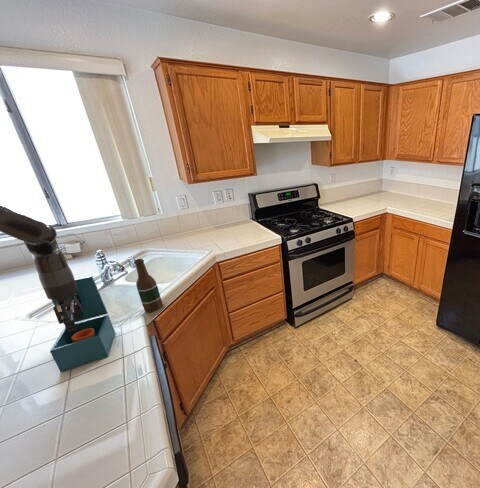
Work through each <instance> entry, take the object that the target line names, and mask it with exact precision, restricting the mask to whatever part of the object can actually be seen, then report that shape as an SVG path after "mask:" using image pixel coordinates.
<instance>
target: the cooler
mask: <svg viewBox="0 0 480 488" xmlns="http://www.w3.org/2000/svg"><path fill="white" fill-rule="evenodd" d="M75 325H76V327H77V329H76V330H75V331H71V332H68V331H67V329H66V327H65V326H64V327H63V329H62V331H61V332H60V334H59V335H58V337H57V339H56V340H55V342H54V344H53V345H52V346H51V348H50V350H49V352H50V354H51V356H52V358H53V360H54V362H55V365H56V366H57V368H58V370H59V372H60V373H64V372H67V371H70V370H73V369H75V368H79V367H82V366H85V365H87V364H91V363H94V362H97V361H100V360H103V359H106V358H108V357H109V356H110V352H111V349H112V345H113V342H114V339H115V336H116V330H115V328H114V326H113V323H112V320H111V318H110V316H109V314H105V315H101V316H97V317H94V318H90V319H86V320H82V321H79V322H75ZM89 328H92V329H94V331H95V333H96V336H95V337H91V338H88V339H85V340H81V341H78V342H75V343H73V341H72V339H71V338H72V336H73V335H74V334H76V333H77V332H79V331H82V330H84V329H89ZM96 360H97V361H96ZM93 361H94V362H93Z"/></svg>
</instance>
